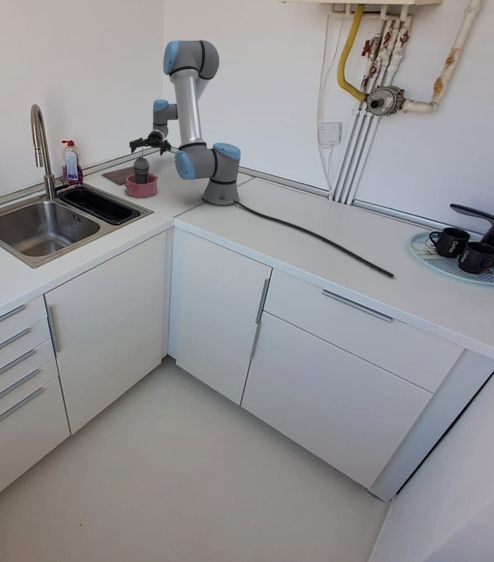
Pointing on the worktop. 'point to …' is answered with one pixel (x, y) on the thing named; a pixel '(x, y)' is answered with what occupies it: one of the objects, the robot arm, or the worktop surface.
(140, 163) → the beverage cup
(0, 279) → the worktop surface
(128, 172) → the board
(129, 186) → the pot
